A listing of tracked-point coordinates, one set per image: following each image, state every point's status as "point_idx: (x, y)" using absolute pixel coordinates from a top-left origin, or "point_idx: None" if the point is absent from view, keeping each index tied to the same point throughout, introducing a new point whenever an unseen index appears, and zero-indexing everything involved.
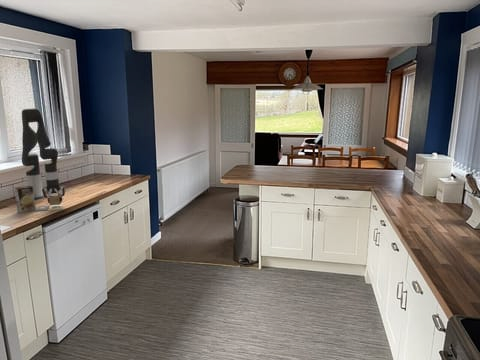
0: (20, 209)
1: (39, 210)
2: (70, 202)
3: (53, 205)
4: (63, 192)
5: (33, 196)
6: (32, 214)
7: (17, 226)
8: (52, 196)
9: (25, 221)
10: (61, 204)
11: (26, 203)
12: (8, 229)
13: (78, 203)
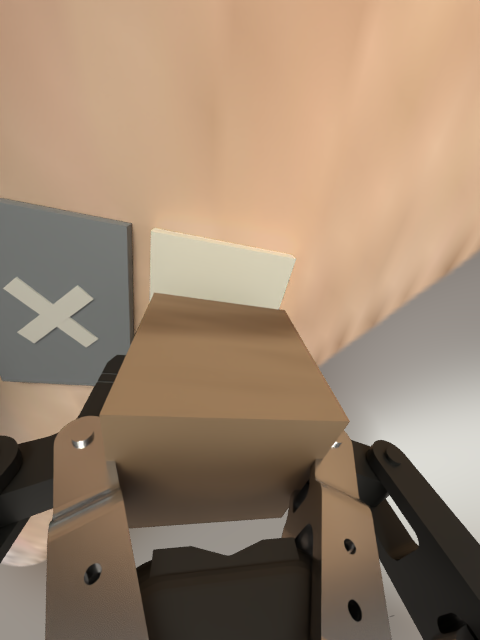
0: None
1: (51, 379)
2: (423, 137)
3: (182, 264)
4: (396, 554)
5: None
6: (26, 432)
7: (42, 548)
8: (181, 520)
9: (49, 516)
10: (280, 270)
11: None
12: (16, 562)
13: (444, 271)
